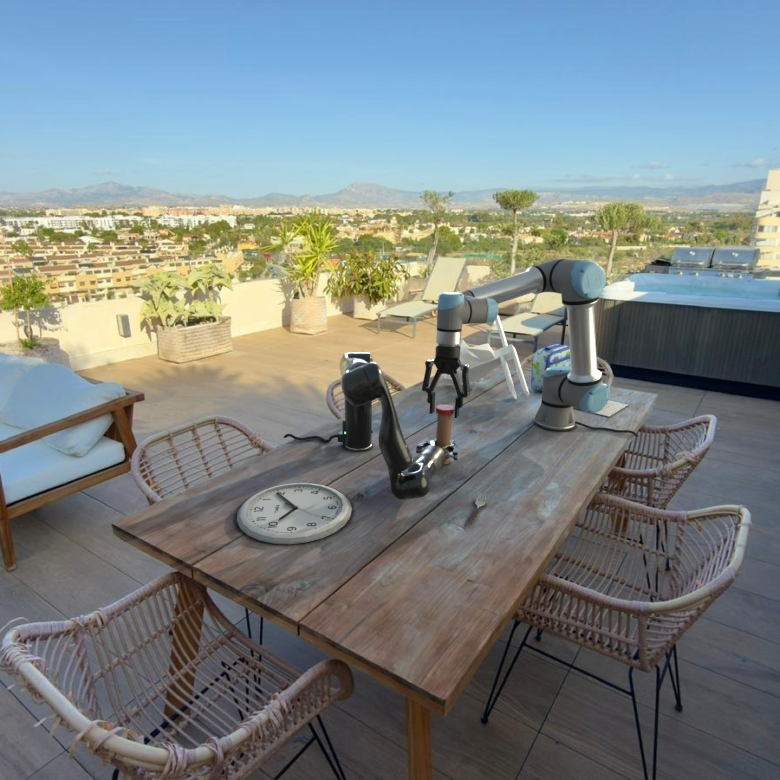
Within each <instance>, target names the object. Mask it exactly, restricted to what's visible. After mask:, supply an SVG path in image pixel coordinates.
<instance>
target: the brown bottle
mask: <svg viewBox="0 0 780 780" xmlns="http://www.w3.org/2000/svg"><path fill="white" fill-rule="evenodd" d="M452 424H453V414H451V415H441V414H438V413H436V432H435V434H436V435H435V438H436V446H439V447H440V446H444V445H449V444H450V442H451V441H452V426H453V425H452ZM450 458H451V457H449V458H448V459H446V460H445V462H444V464H443V465H442V466H444V465H445V466H446V465H448V464H450V460H451V459H450Z"/></svg>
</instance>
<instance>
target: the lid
mask: <svg viewBox="0 0 780 780" xmlns="http://www.w3.org/2000/svg"><path fill="white" fill-rule="evenodd" d="M435 413H436V414H437V413H438V414H441V415H451V414H452V415H454V414H455V406H453V405H451V404H444V403H443V404H438V405H435Z"/></svg>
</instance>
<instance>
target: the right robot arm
mask: <svg viewBox="0 0 780 780" xmlns="http://www.w3.org/2000/svg"><path fill="white" fill-rule="evenodd" d="M606 284H607V277H606V273H605V270H604V268H603V267H602V266H601V265H600V264H599V263H597V262H595V261H590V260H587V259H570V258H569V259H568V258H556V259H552V260H548V261H545V262H542V263H539V264H535V265H532V266H530V267H528V268H527V269H526V270H525V271H523V272H520V273H517V274H513V275H511V276H507V277H505V278H501V279H499V280H495V281H492V282H489V283H485V284H482V285H479V286H476V287H472V288H469V289H466V290H463V291H459V292H457V291H455V292H454V291H444V292H441V293H440V294H439V295H438V300H437V307H436V310H437V316H436V335H435V343H436V344H435V354H434V359H427V360H426V361H425V363H424V365H425V370H424V377H423V381H422V387H421V390H422V392H425V393H427V397H426V398H427V399H426V401H427V403H428V404H429V411H428V412H429V415H433V414H434V413H436V393H437V392H435V388H436V386H437V384H438V382H439V380H440V379H441V374H448V375H450V376H451V378H452V380H453V383H454V384H453V386H454V390H455V392H456V395H457V396H456V397H455V399H454V413H453V415H454V416H453V418H454V419H458V418H459V416H460V411H461V410H460V409H462V407H463V406H464V398H467V397H468V396H470V394H471V393H470V382H469V378H468V370H469V365H468V364H467V365H465V364H462V363H461V362H460V348H461V346H460V345H459V344H460V343H461V339H462V333H463V331H462V329H463V325H470V324H471V325H472V324H485V325H486V324H487V323H488V324H489V323H493V322H496V321H495V320H496V318H497V316H499V304H502V303H505V302H508V301H511V300H514V299H518V298H520V297H523V296H527V295H529V294H533V295H538V294H539V295H540V294H542V293H555V294H560V295H561V304H562V305H563V306H564V307H566V312H567V313H566V315H567V326H568V327H567V328H568V340H569V341H568V343H569V346H570V358H571V367H567V366H556V367H549V368H547V369H546V370H545V374H544V380H543V391H541V402H540V405H539V407H538V410H537V411H536V413H535V417H534V424H535V425H536V426H537V427H539V428H542V429H544V430H549V431H556V432H567V431H572V430H574V429H575V428H576V425H579V426H581V427H584V428H586V429H589V430H596V431H597V430H598V431H608V432H611V433H619V434H625V433H629V434H632V435H633V436H634V437H638V438H639V437H640V435H638V433H637V432H635V431H634V430H630V429H615V428H610V427H603V426H590V425H588V424H586V423H582V422H581V421H580V422H579V421H576V418H575V417H576V416H575V413H574V409H576V408H577V409H576V410H579V411H581V412H583V413H587V414H596V412H598V411H600V410H601V409H603V408H604V406H605V405H606V404H607V402H608V400H610V397H611V389H610V387H609V385H608V384H606V383H604V382H603V373H602V372H601V371H600V370H598V361H597V359H598V357H597V341H596V340H597V338H596V337H597V336H596V335H597V334H596V319H595V318H596V317H595V305H596V303H597V302H599V299H600V296H601V295H602V294H603V293H604V289H605V288H606ZM434 366H435V368H436V371H435V372H434V373H435V374H434V376H433V378H432V380H431V375H432V371H433V367H434ZM459 367H460V368H461V371H462V380H463V383H460V381H459V378H458V373H457V369H458V368H459ZM430 380H431V382H430ZM574 407H575V408H574Z"/></svg>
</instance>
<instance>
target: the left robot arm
mask: <svg viewBox="0 0 780 780" xmlns="http://www.w3.org/2000/svg"><path fill="white" fill-rule="evenodd" d="M339 371H340V375H341V377H340V386H341V391H342V394H343V396H344V419H343V420H342V427H341V428H342V429H341V431H339V432H338V433H337V434H333V435H331V436H329V438H328V439H325V438H324V437H322V436H320V435H309V436H305V437H304V436H303V437H299V436H296V435H294V434H292V433H286V434H284V436H283V439H285V438H289V437H290V438H292V439H294V440H296V441H308V440H313V439H316V440H319V441H322V442H323V443H330V442H331V441H332V440H333V439H335V438H337V442H338V443H342V447H343V448H345V449H346V450H349V451H353V452H364V451H367V450H370V449H371V448H372V446H373V442H372V441H373V440H372V435H373V434H374V431H373V429H372V428H373V427H372V426H373V425H372V424H373V422H372V421H373V420H372V419H373V401H376V400H378V399H379V400H380V404H381V419H380V424H379V430H378V436H377V439H378V440H377V441H378V447H379V450H380V452H381V455H382V457H383V459H384V462H385V464H386V467H387V469H388V470H387V471H388V476H389V484H390V485H389V487H390V491H391V493H392V495H393V496H394V498H395V499H397V500H400V501H404V500H405V501H406V500H412V499H419V498H423V497H425V496H427V495H428V494H429V493H430V489H431V483H432V479H433V477H434V476H436V474H437V473H438V472H439V471H440V469H441V468H442V466H444V465H443V464H444V462H445V460H446V459H448V458H449V457H450V458H451V459H453V460H454V461H458V458H459V457H458V456H459V445H457V442H456V441H455V440H454V439H451V442H450V444H449V445H444V446H440V447H439V446H436V437H435V438H433V439H432V440H430V441H429V440H427V439H426V440H423V441H421V442H420V443H418V444H416V446H415V453H416V454H418V455H417V456H416V458H415V459H413V455H412V453H411V451H410V449H409V445H408V444H407V441H406V439H405V436H404V433H403V431H402V428H401V425H400V422H399V418H398V414H397V410H396V406H395V403H394V400H393V397H392V393H391V391H390V387H389V385H388V382H387V379H386V377H385V374H384V372H383V370H382V369H381V366H380V365H379V364H378V363H377V362H375V361H374V359H373V356H372V354H371V353H370V352H367V351H366V352H364V351H362V352H361V351H359V352H355V351H354V352H344V353H343V354H342V355H341V357H340V360H339ZM407 469H408V470H407ZM406 470H407V472H404V471H406Z"/></svg>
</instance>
